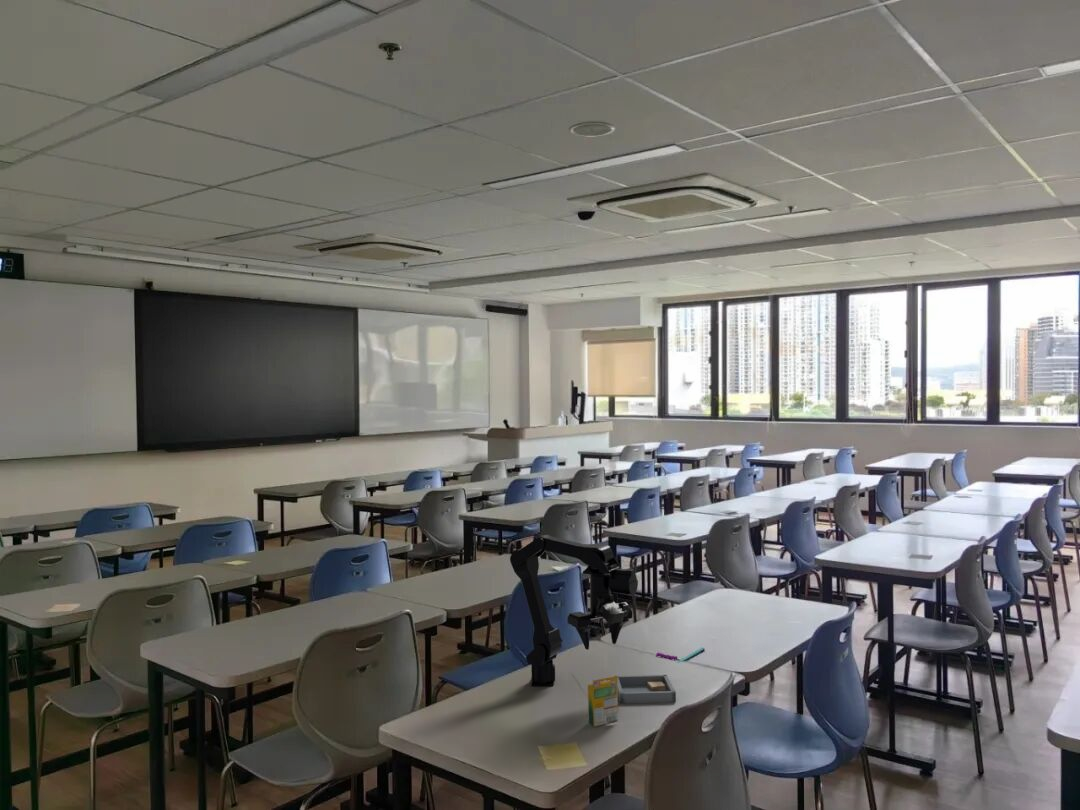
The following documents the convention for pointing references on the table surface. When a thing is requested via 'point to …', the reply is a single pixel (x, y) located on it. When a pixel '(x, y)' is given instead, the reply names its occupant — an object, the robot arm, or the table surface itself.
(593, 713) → the crayon box
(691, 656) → the bent bar
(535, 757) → the table surface
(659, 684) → the wood tile
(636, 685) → the tray
